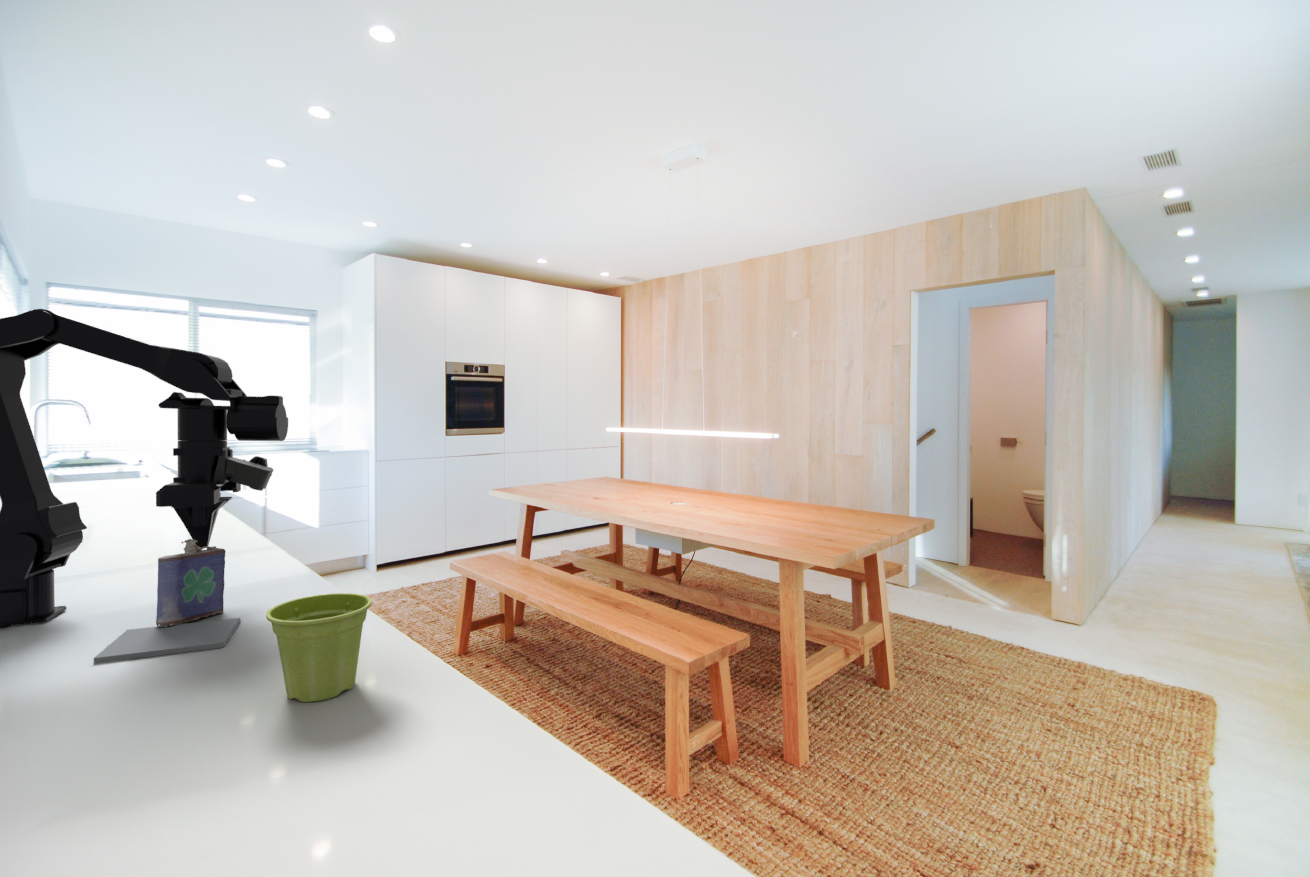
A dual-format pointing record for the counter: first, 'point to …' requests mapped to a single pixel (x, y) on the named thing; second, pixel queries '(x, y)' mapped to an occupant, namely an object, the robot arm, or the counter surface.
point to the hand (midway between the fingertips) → (203, 547)
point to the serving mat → (169, 640)
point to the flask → (190, 584)
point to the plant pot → (319, 643)
